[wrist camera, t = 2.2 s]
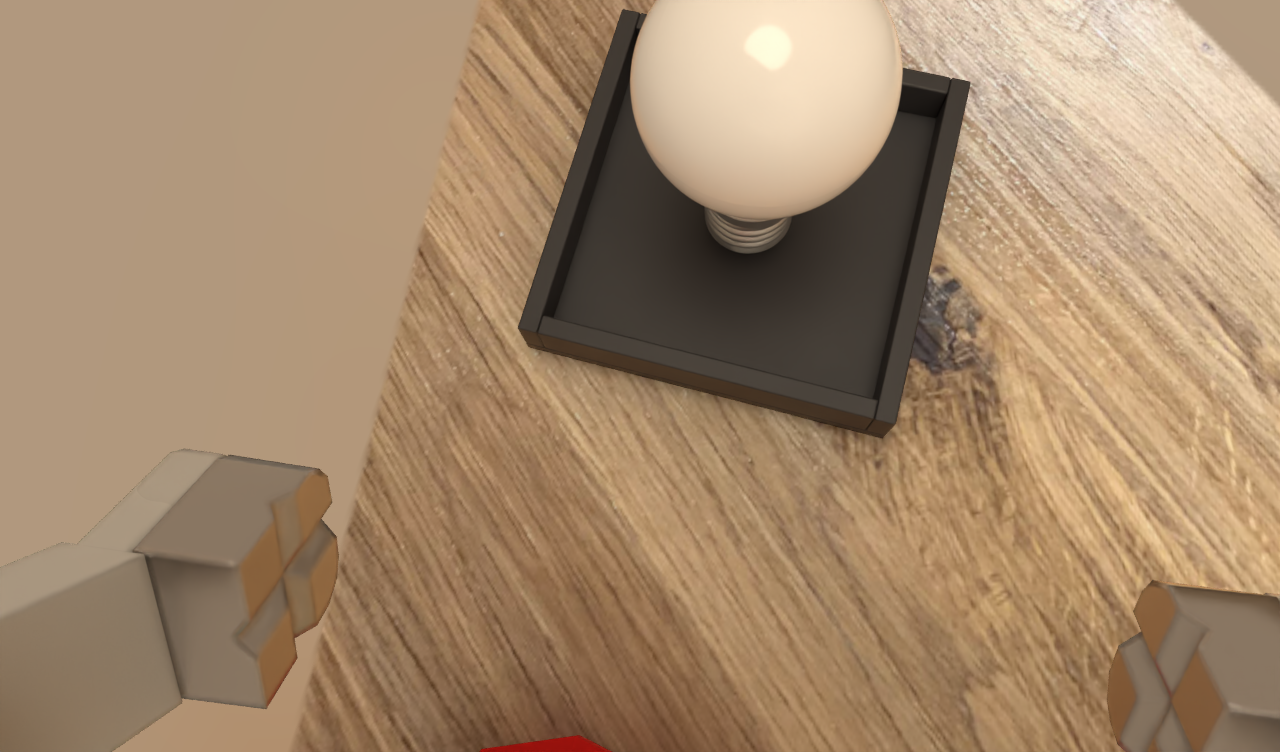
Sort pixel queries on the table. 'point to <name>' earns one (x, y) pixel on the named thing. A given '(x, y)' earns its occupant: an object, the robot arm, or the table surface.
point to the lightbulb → (764, 105)
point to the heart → (552, 746)
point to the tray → (747, 267)
